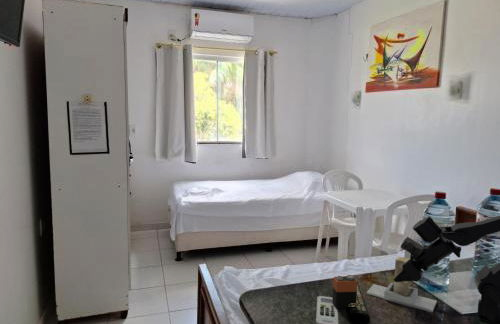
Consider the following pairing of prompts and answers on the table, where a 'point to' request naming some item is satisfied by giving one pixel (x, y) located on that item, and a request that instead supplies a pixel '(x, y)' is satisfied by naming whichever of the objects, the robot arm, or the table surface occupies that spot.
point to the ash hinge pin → (398, 286)
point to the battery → (344, 291)
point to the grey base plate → (403, 297)
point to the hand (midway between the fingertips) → (397, 276)
